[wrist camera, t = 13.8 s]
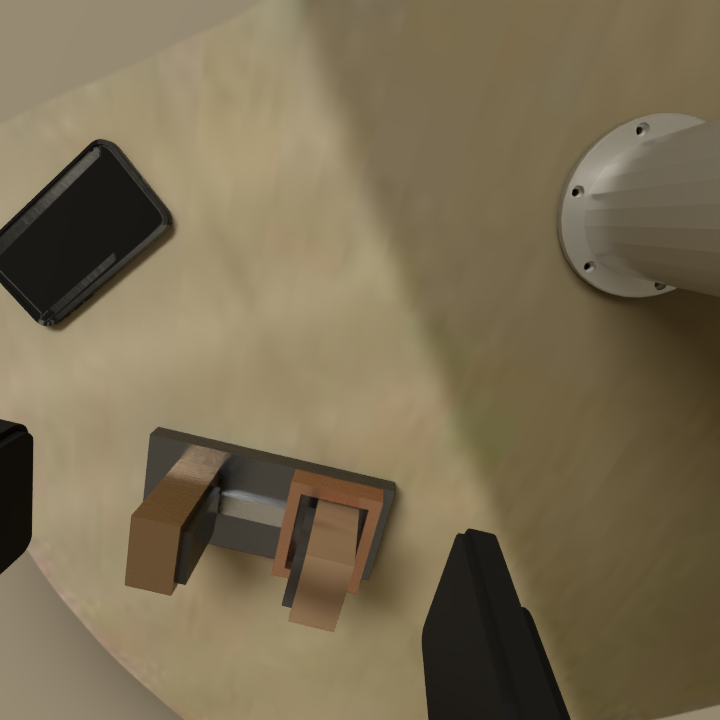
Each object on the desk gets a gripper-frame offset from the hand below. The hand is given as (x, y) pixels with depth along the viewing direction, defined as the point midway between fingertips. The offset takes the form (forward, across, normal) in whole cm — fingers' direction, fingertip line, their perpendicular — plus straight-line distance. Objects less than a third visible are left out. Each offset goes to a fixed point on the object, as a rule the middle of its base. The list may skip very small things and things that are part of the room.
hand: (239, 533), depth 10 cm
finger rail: (+28, +3, +20) cm, 35 cm away
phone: (+29, +22, 0) cm, 36 cm away
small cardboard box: (+27, -3, +20) cm, 34 cm away
